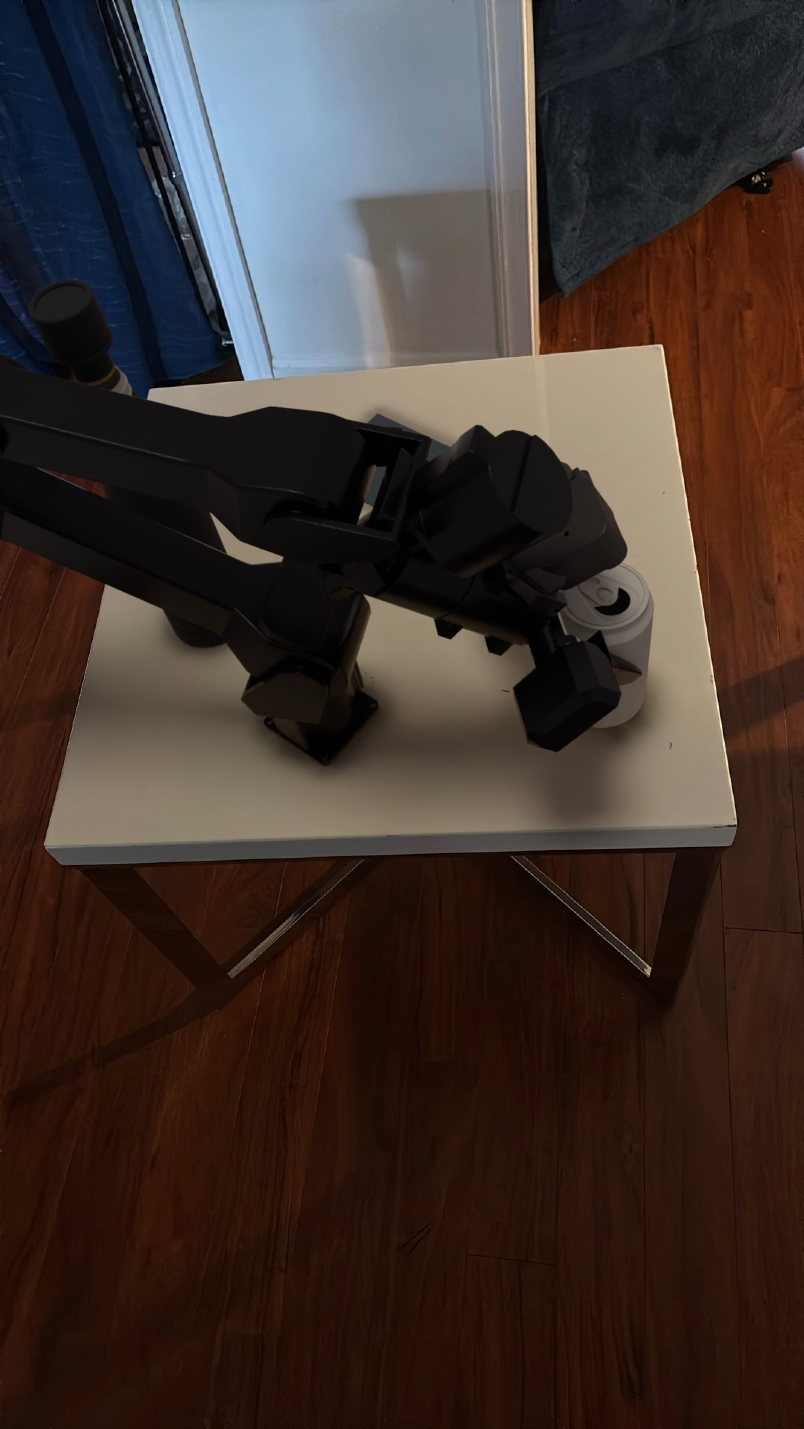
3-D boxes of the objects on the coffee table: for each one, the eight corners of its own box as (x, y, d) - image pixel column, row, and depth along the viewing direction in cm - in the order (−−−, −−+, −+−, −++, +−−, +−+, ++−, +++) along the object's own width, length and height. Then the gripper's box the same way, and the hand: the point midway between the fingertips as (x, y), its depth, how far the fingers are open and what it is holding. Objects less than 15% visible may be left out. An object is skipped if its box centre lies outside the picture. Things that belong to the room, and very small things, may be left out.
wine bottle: (241, 648, 83) (98, 333, 58) (165, 648, 84) (-8, 339, 59) (255, 585, 86) (125, 261, 61) (182, 585, 87) (24, 268, 62)
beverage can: (600, 749, 73) (604, 651, 63) (537, 695, 77) (531, 593, 66) (663, 696, 75) (677, 592, 65) (599, 645, 78) (603, 538, 68)
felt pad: (390, 515, 88) (390, 514, 88) (313, 475, 92) (313, 474, 92) (455, 450, 91) (455, 449, 91) (377, 414, 95) (377, 413, 95)
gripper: (586, 610, 51) (770, 682, 60) (496, 369, 61) (665, 462, 70) (447, 729, 58) (631, 778, 67) (387, 495, 68) (554, 564, 77)
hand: (622, 638), depth 70 cm, fingers closed on beverage can, 6 cm apart
